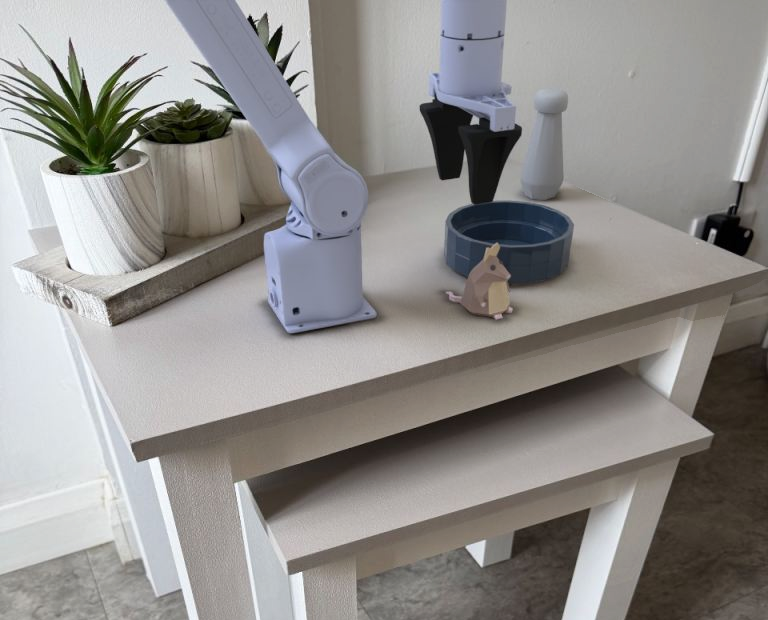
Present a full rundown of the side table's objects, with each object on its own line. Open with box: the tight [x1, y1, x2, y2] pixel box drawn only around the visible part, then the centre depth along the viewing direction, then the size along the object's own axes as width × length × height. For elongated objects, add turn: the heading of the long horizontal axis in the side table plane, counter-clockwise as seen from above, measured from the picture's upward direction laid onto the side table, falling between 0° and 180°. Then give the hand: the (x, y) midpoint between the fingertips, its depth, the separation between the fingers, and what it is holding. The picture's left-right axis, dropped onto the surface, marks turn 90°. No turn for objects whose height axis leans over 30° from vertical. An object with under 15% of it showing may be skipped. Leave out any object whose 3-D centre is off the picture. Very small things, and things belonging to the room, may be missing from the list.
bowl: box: [443, 199, 575, 285], centre depth 90 cm, size 14×14×4 cm
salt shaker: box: [519, 87, 569, 201], centre depth 104 cm, size 6×6×13 cm
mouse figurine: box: [445, 243, 514, 321], centre depth 81 cm, size 5×8×7 cm, turn 48°
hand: (465, 189), depth 79 cm, fingers open, 7 cm apart
